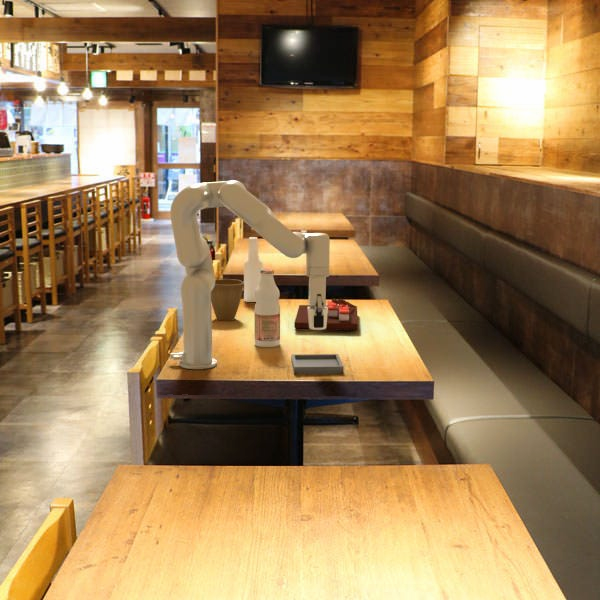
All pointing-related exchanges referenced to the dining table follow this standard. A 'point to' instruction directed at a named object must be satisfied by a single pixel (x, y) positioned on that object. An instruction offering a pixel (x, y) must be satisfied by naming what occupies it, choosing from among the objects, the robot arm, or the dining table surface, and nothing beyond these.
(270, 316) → the fruit juice
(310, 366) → the serving tray
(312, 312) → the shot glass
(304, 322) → the sushi
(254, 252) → the alcohol
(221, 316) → the plant pot
